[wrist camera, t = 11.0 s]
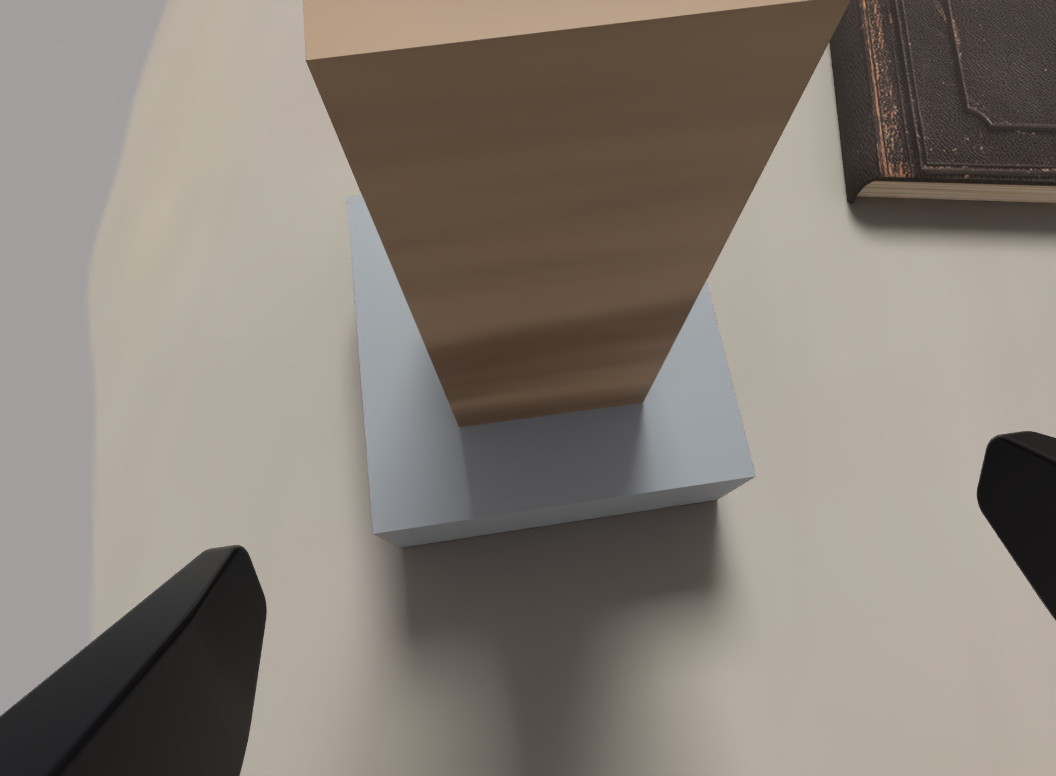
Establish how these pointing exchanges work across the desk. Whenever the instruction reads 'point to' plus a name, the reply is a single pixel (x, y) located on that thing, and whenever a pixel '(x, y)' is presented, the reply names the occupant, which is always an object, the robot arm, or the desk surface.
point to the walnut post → (557, 172)
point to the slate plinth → (530, 430)
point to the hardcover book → (947, 99)
